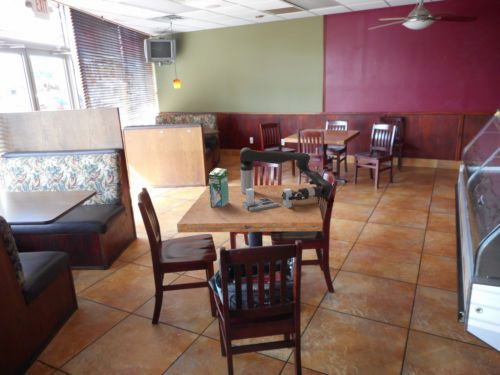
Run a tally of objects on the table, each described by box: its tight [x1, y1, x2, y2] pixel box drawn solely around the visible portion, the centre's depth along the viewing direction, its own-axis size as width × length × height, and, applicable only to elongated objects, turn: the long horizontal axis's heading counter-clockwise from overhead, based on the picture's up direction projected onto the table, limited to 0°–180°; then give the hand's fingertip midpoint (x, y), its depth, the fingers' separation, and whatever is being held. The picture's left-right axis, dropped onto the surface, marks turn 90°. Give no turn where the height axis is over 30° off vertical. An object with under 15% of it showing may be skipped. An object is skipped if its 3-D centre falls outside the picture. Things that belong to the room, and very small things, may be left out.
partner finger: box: [245, 188, 256, 205], centre depth 231 cm, size 4×5×12 cm
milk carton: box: [208, 167, 230, 209], centre depth 237 cm, size 9×9×25 cm
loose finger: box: [282, 187, 292, 209], centre depth 233 cm, size 4×5×12 cm
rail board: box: [240, 197, 282, 214], centre depth 233 cm, size 16×22×4 cm
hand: (285, 197), depth 233 cm, fingers open, 8 cm apart
